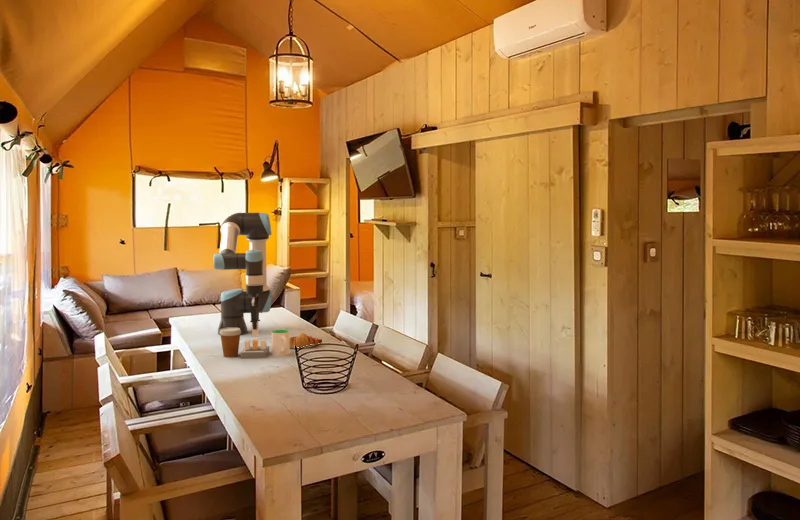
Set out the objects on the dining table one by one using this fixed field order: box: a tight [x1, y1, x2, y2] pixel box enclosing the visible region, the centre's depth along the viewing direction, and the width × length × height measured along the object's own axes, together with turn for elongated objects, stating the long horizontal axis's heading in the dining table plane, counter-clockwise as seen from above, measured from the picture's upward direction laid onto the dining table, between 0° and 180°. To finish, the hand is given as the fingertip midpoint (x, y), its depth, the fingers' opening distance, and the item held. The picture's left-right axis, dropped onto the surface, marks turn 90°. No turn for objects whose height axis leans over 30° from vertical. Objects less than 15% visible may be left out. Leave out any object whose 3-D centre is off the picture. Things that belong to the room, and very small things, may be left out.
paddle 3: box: [260, 339, 267, 350], centre depth 269 cm, size 3×2×4 cm, turn 6°
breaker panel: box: [240, 345, 270, 359], centre depth 269 cm, size 12×11×3 cm
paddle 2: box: [252, 339, 259, 350], centre depth 269 cm, size 3×2×4 cm, turn 6°
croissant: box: [290, 332, 323, 350], centre depth 285 cm, size 21×10×8 cm
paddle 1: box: [244, 339, 251, 350], centre depth 268 cm, size 3×2×4 cm, turn 6°
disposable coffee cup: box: [219, 327, 242, 358], centre depth 267 cm, size 10×10×12 cm
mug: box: [271, 329, 291, 357], centre depth 270 cm, size 12×8×10 cm, turn 31°
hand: (255, 335), depth 268 cm, fingers closed
